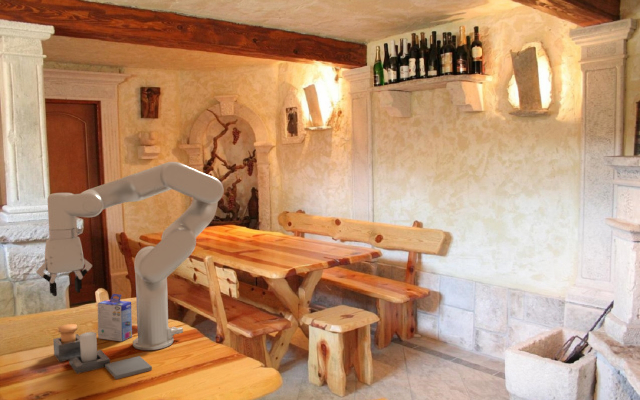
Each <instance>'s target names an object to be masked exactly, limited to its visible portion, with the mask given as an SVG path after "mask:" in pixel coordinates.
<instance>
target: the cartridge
mask: <svg viewBox="0 0 640 400" xmlns="http://www.w3.org/2000/svg"><path fill="white" fill-rule="evenodd" d="M79 336H80V350H81V363H85V362H89V361H93V360H97V351H98V343H97V342H98V341H97V338H98V337H97V332H93V331H92V332H91V331H90V332H88V331H87V332H83V333H82V334H80V335H79Z"/></svg>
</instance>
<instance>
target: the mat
mask: <svg viewBox="0 0 640 400" xmlns="http://www.w3.org/2000/svg"><path fill="white" fill-rule="evenodd" d="M104 368H105V369H106V370H107V371H108V372H109V374H111V376H112V377H114V379H115V380H118V379H122V378H126V377H131V376H134V375H138V374H142V373H145V372H151V371H152V370H153V367H152V365H151V364H149V362H148V361H146V360H145V359H144V358H143V357H142V356H140V355H137V356H133V357H129V358H125V359H122V360H117V361H113V362H110V363H108V364H105V367H104Z"/></svg>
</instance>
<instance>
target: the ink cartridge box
mask: <svg viewBox="0 0 640 400" xmlns="http://www.w3.org/2000/svg"><path fill="white" fill-rule="evenodd" d="M114 297H117V298H114ZM121 299H122V294H117V293H112V295H111V297H110V299H106V300H103V301H100V302H97V333H98V334H97V335H98V336H97V338H98V339H101V340H108V341H114V342H124V341H126V340H128V338H129V339H131V338H133V328H132V327H133V321H132V319H133V318H132V317H133V316H132V301H125V300H121Z"/></svg>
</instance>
